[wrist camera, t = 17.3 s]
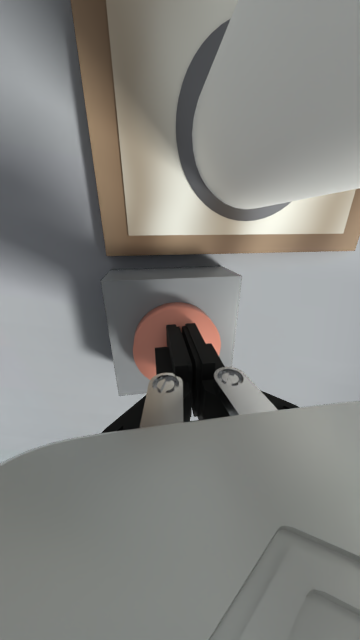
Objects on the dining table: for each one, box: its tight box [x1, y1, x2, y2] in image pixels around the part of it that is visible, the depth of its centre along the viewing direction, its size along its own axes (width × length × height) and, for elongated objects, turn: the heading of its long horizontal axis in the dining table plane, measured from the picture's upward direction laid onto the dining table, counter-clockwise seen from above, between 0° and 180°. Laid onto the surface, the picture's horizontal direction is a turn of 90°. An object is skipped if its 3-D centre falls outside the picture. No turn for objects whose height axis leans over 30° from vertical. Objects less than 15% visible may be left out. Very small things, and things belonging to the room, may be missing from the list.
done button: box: [133, 302, 221, 380], centre depth 14 cm, size 5×5×4 cm
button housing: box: [101, 266, 242, 396], centre depth 15 cm, size 8×8×4 cm
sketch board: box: [71, 0, 360, 256], centre depth 12 cm, size 18×13×1 cm
